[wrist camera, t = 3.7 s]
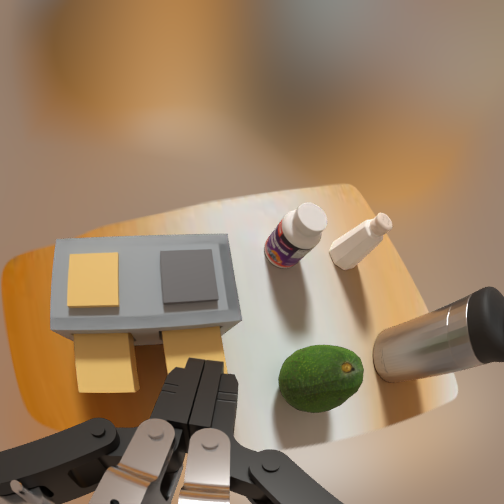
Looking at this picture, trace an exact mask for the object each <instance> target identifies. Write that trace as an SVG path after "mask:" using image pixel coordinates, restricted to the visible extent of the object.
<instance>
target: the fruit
mask: <svg viewBox="0 0 504 504" xmlns="http://www.w3.org/2000/svg"><path fill="white" fill-rule="evenodd" d="M363 371H364V369H363V365H362V362H361V359H360V358H359V357H358V356H357V355H356V354H355V353H354V352H353V351H350V350H348V349H346V348H343V347H338V346H331V345H315V346H309V347H306V348H303V349H300V350H297V351H296V352H294V353H293V354H292V355H291V356H289V357H288V358H287V359H286V360H285V362H284V363H283V365H282V368H281V370H280V374H279V379H278V380H279V387H280V391H281V393H282V395H283V397H284V399H285V400H286V401H287V402H288V403H289V404H290V405H292V406H293V407H294V408H296V409H297V410H301V411H305V412H311V413H319V412H325V411H329V410H331V409H333V408H335V407H338V406H340V405H341V404H342V403H344V402H345V401H346V400H347V399H348V398H349V397H351V396H352V395H353V394H354V393H356V392H357V391H358V389H359V387H360V385H361V384H362V381H363Z"/></svg>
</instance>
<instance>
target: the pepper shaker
mask: <svg viewBox="0 0 504 504" xmlns="http://www.w3.org/2000/svg"><path fill="white" fill-rule="evenodd" d="M391 229H392V222H391V220H390V218H389V217H388V216H387V215H386V214H384V213H379V214H378V215H377V216H376V217H375V218H374V219H372V220H366V221H364V222H362V223H361V224H359V225H358V226H356V227H355V228H353V229H352V230H350V231H349V232H347V233H346V234H344V235H343V236H341V237H340V238H338V239H336V240H335V241H333V242H332V245H331V248H330V250H329V253H330V255H331V258H332V260H333V263H334V264H335V265H337V266H338V267H340V268H341V269H343V270H347V269H351V268H354V267H355V266H356V265H357V264H358V263H359V262H360V261H361V260H362V259H364V258H365V257H366V256H367V255H368V254H369V253H370V252H371V251H372V250H373V249H374V248H375V247H376V246H377V245H378V244H379V243H380V242H381V241H382V240H383V235H384V234H385V233H387V232H388V231H390V230H391Z"/></svg>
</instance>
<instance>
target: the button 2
mask: <svg viewBox="0 0 504 504" xmlns="http://www.w3.org/2000/svg"><path fill="white" fill-rule="evenodd" d="M161 332H162V340H163V348H164V356H165V363H166V370H167V375H168V373H170V372H171V371H172V370H173V369H174V368H175V367H180V368H185V366H186V363H187V360H188V358H189V357H190V358H197V359H205V360H213V361H222V362H224V374H228V373H227V367H226V362H225V356H224V350H223V344H222V338H221V332H220V326H215V327H205V328H194V329H182V330H168V331H161Z"/></svg>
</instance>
